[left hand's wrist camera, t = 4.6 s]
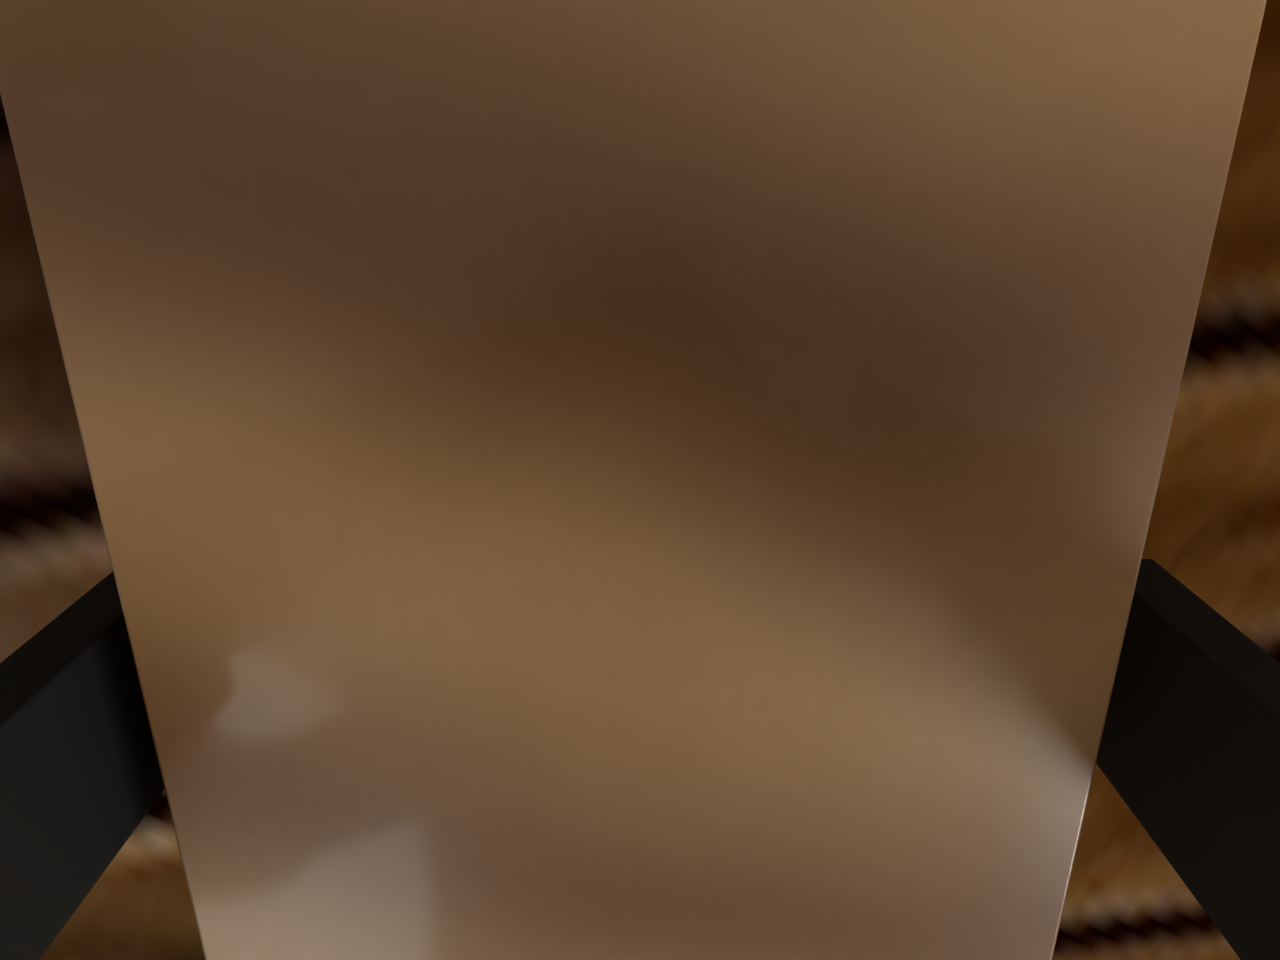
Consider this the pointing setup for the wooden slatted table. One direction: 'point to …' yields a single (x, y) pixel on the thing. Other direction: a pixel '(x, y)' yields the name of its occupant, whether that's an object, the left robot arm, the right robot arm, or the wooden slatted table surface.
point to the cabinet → (625, 447)
